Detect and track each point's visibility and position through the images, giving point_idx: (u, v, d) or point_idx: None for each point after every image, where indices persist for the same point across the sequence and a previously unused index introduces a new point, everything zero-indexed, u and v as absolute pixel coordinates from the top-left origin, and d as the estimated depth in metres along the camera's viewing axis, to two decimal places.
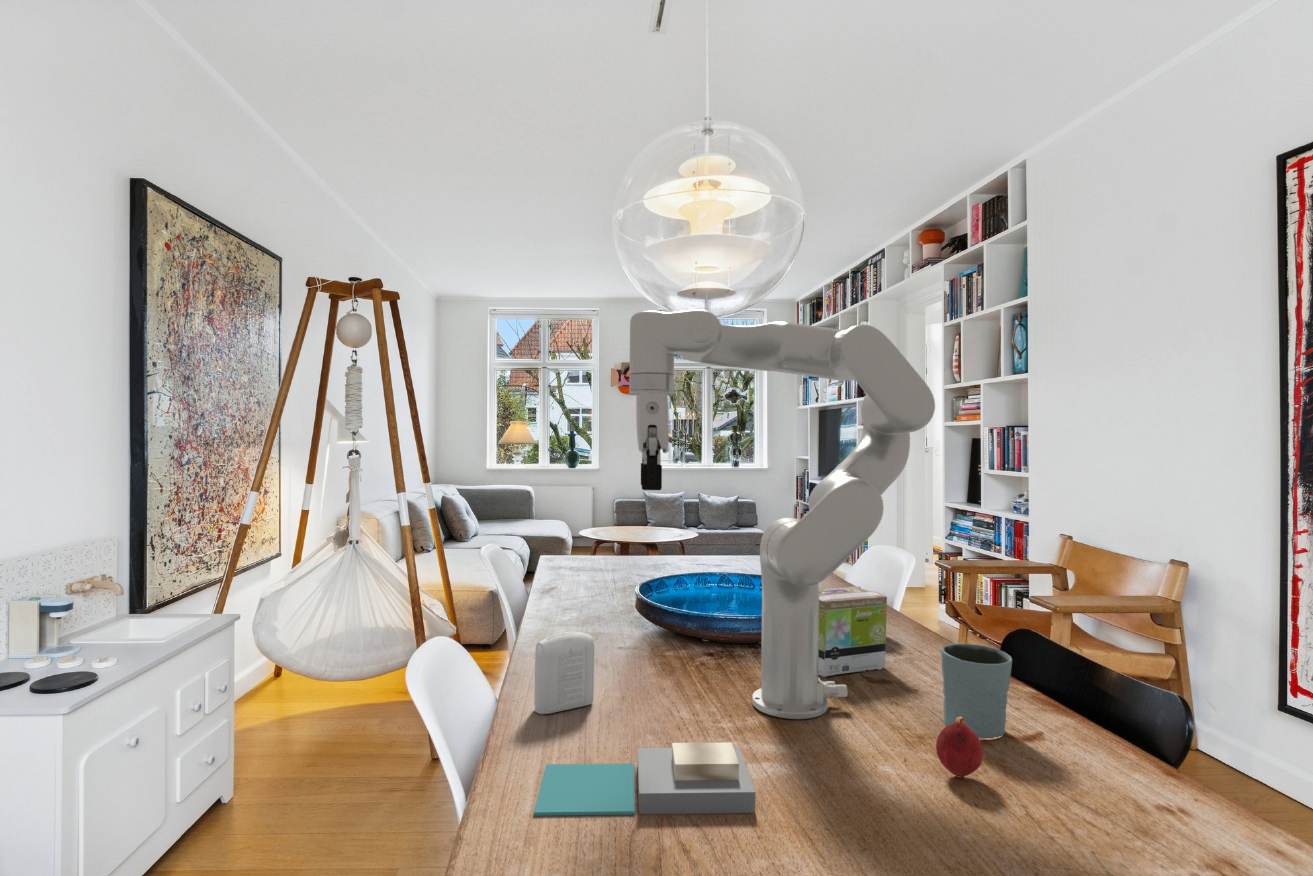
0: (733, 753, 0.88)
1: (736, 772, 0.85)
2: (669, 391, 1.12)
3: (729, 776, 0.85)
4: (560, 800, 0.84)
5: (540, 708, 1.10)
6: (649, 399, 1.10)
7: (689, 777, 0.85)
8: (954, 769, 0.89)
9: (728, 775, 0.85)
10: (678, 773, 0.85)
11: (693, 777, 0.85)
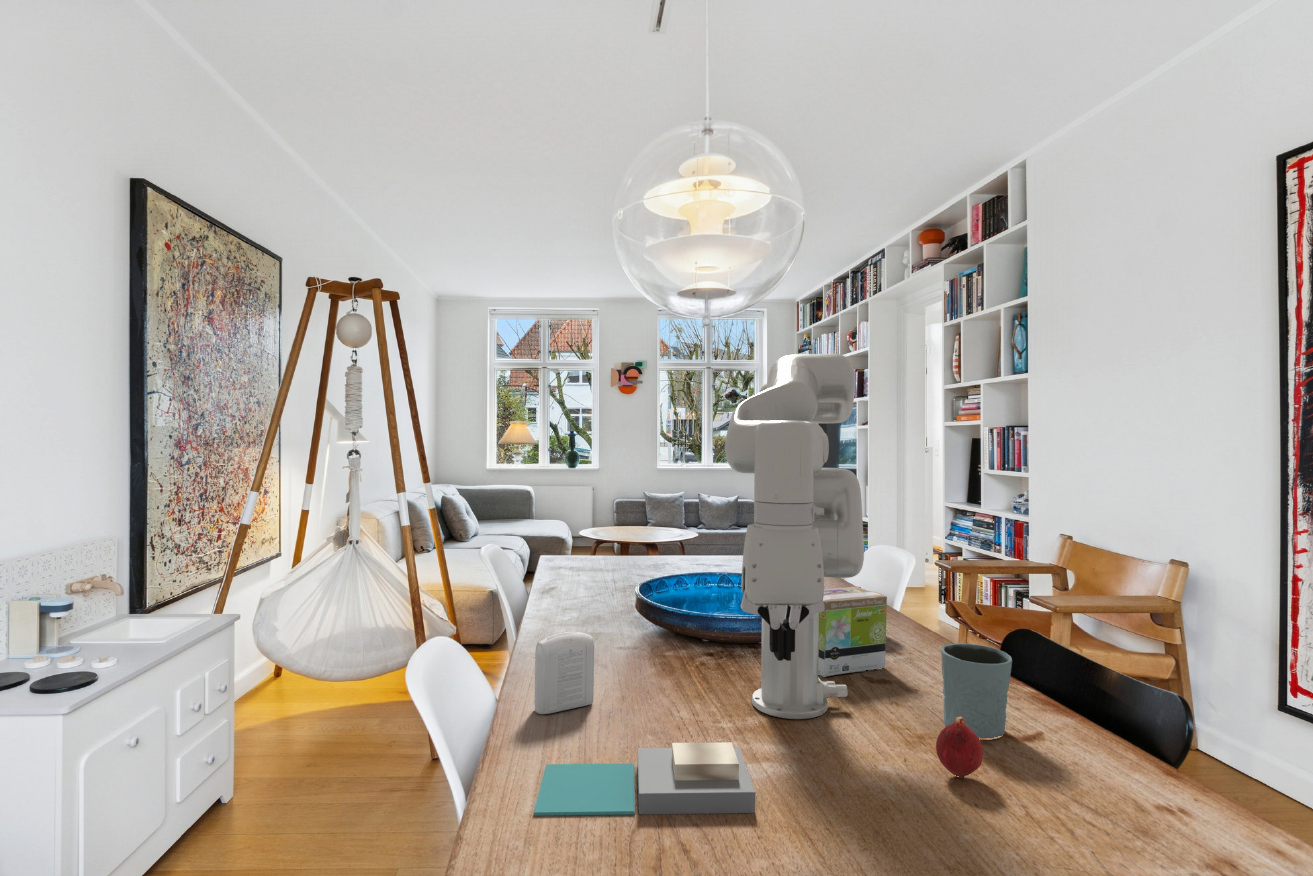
0: (733, 753, 0.88)
1: (736, 772, 0.85)
2: None
3: (729, 776, 0.85)
4: (560, 800, 0.84)
5: (540, 708, 1.10)
6: None
7: (689, 777, 0.85)
8: (954, 769, 0.89)
9: (728, 775, 0.85)
10: (678, 773, 0.85)
11: (693, 777, 0.85)
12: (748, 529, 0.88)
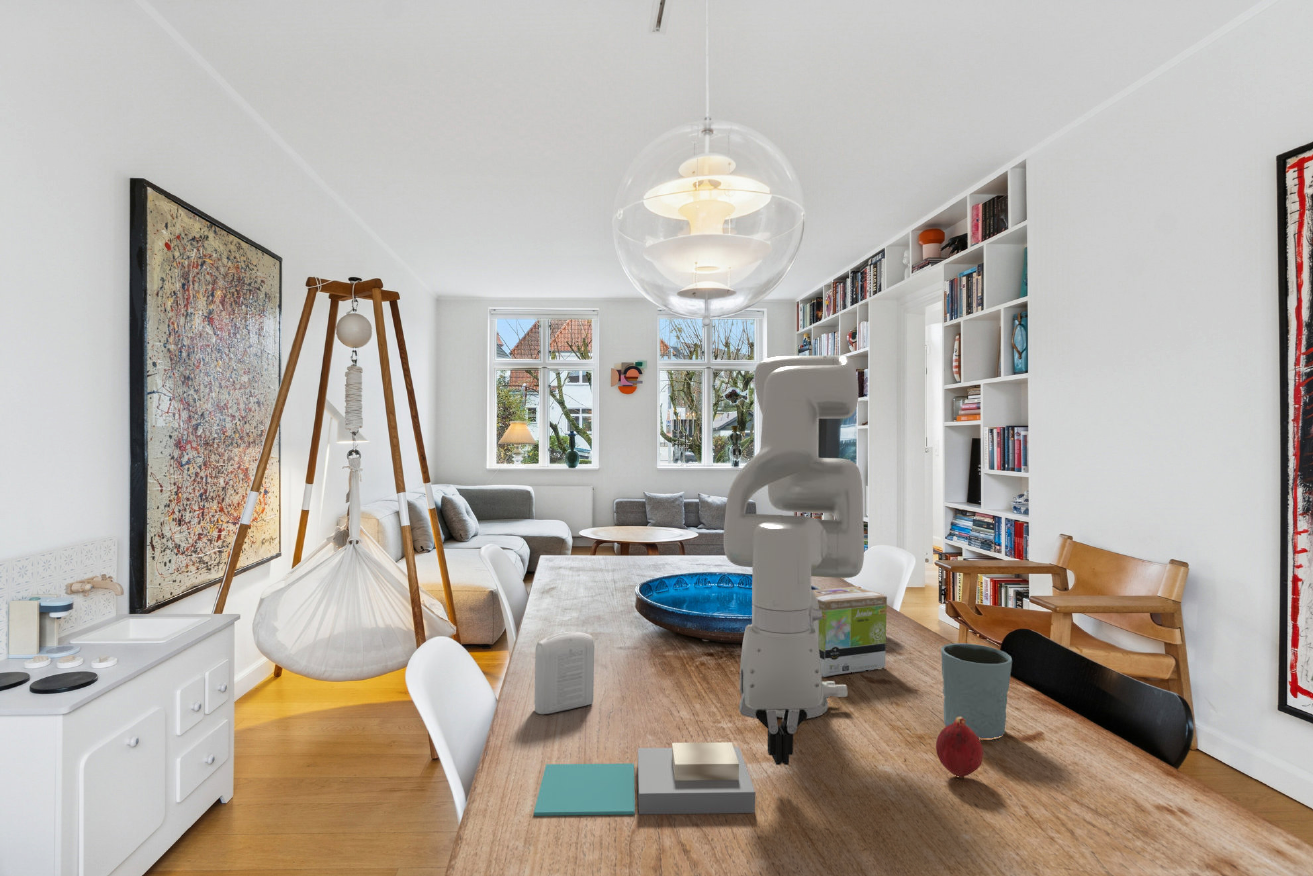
0: (733, 753, 0.88)
1: (736, 772, 0.85)
2: None
3: (729, 776, 0.85)
4: (560, 800, 0.84)
5: (540, 708, 1.10)
6: None
7: (689, 777, 0.85)
8: (954, 769, 0.89)
9: (728, 775, 0.85)
10: (678, 773, 0.85)
11: (693, 777, 0.85)
12: (746, 632, 0.88)
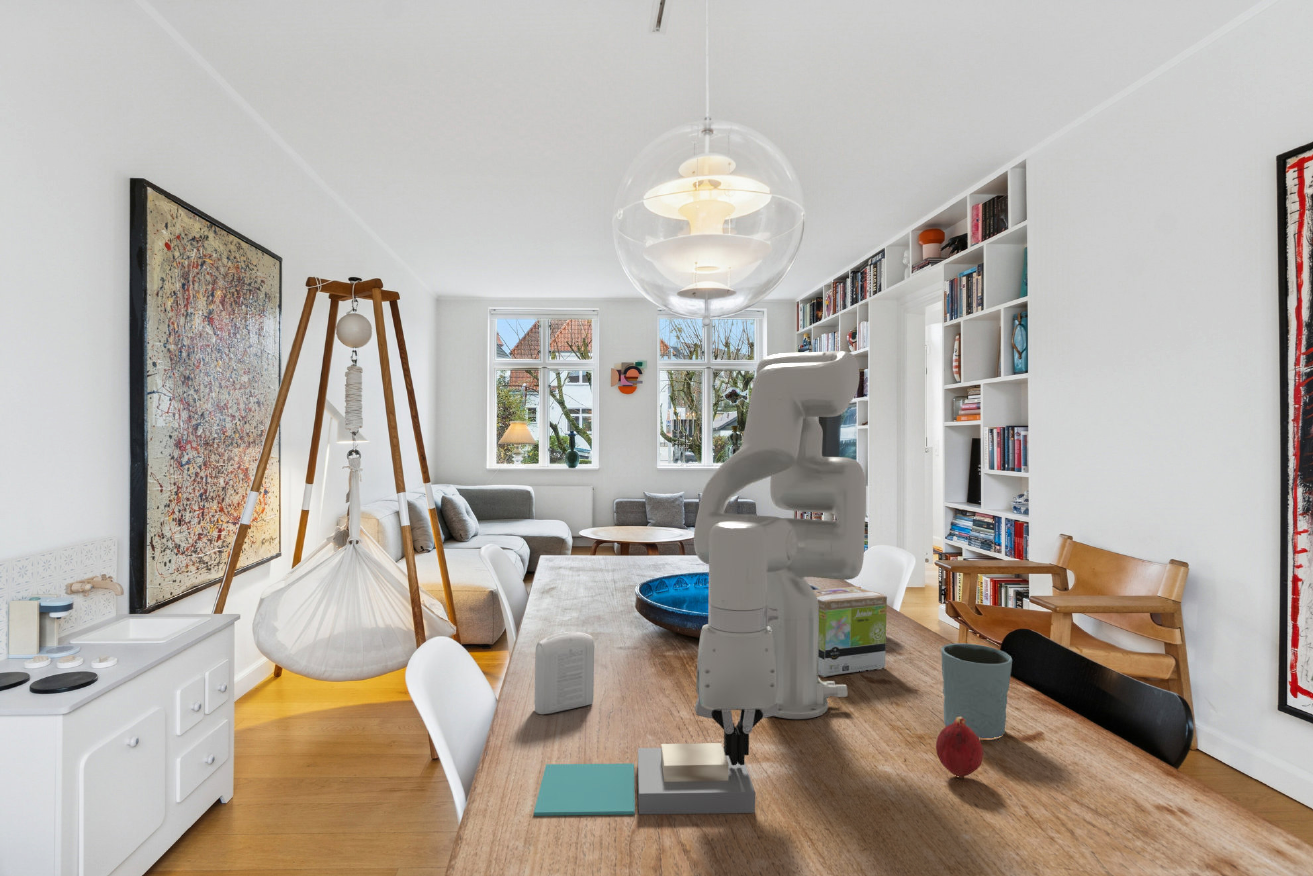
0: (722, 754, 0.88)
1: (726, 773, 0.85)
2: None
3: (719, 777, 0.85)
4: (560, 800, 0.84)
5: (540, 708, 1.10)
6: None
7: (678, 778, 0.84)
8: (954, 769, 0.89)
9: (718, 776, 0.85)
10: (667, 774, 0.84)
11: (682, 778, 0.84)
12: (702, 632, 0.88)
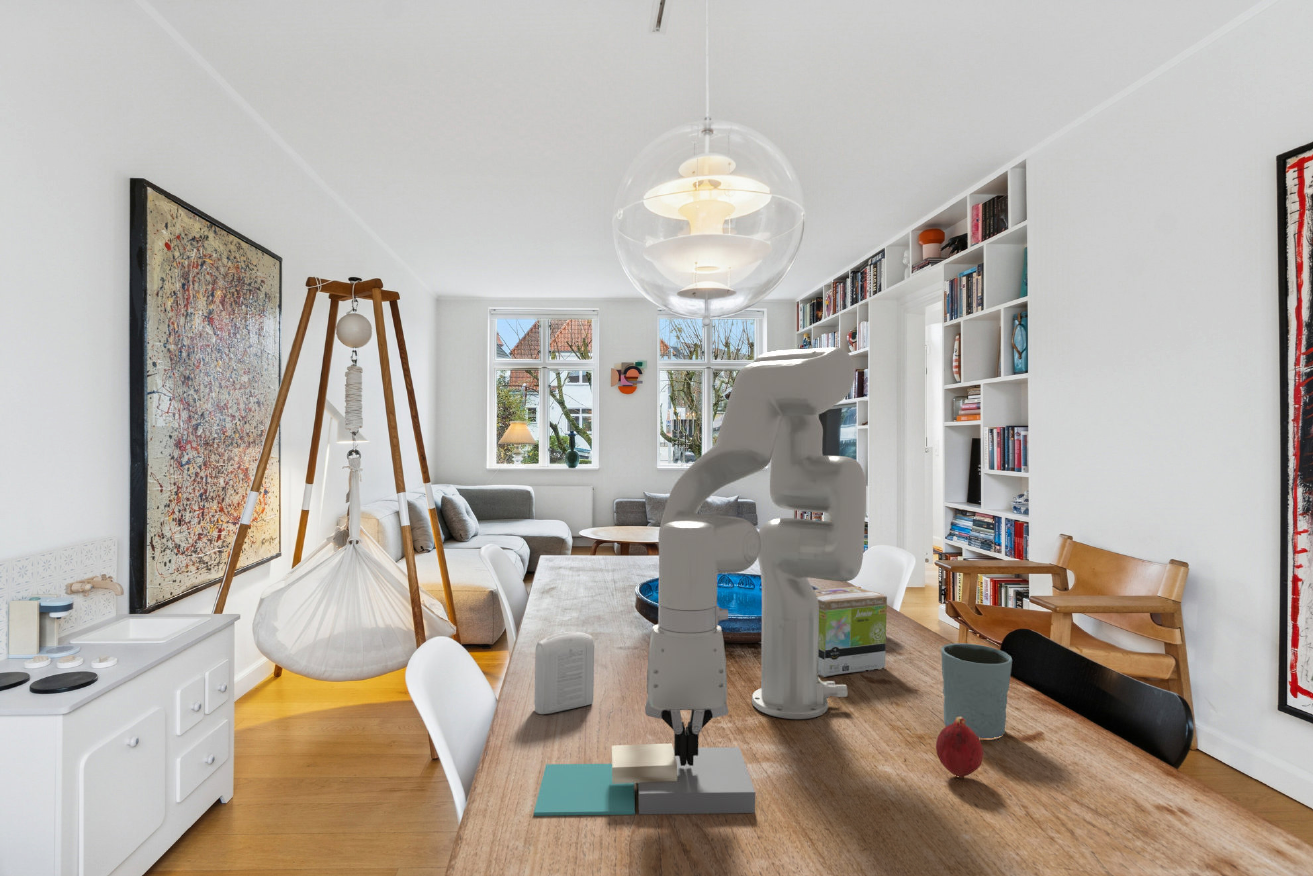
0: (672, 754, 0.87)
1: (674, 773, 0.84)
2: None
3: (667, 778, 0.84)
4: (560, 800, 0.84)
5: (540, 708, 1.10)
6: None
7: (627, 780, 0.84)
8: (954, 769, 0.89)
9: (666, 777, 0.84)
10: (616, 776, 0.84)
11: (631, 780, 0.84)
12: (652, 632, 0.88)
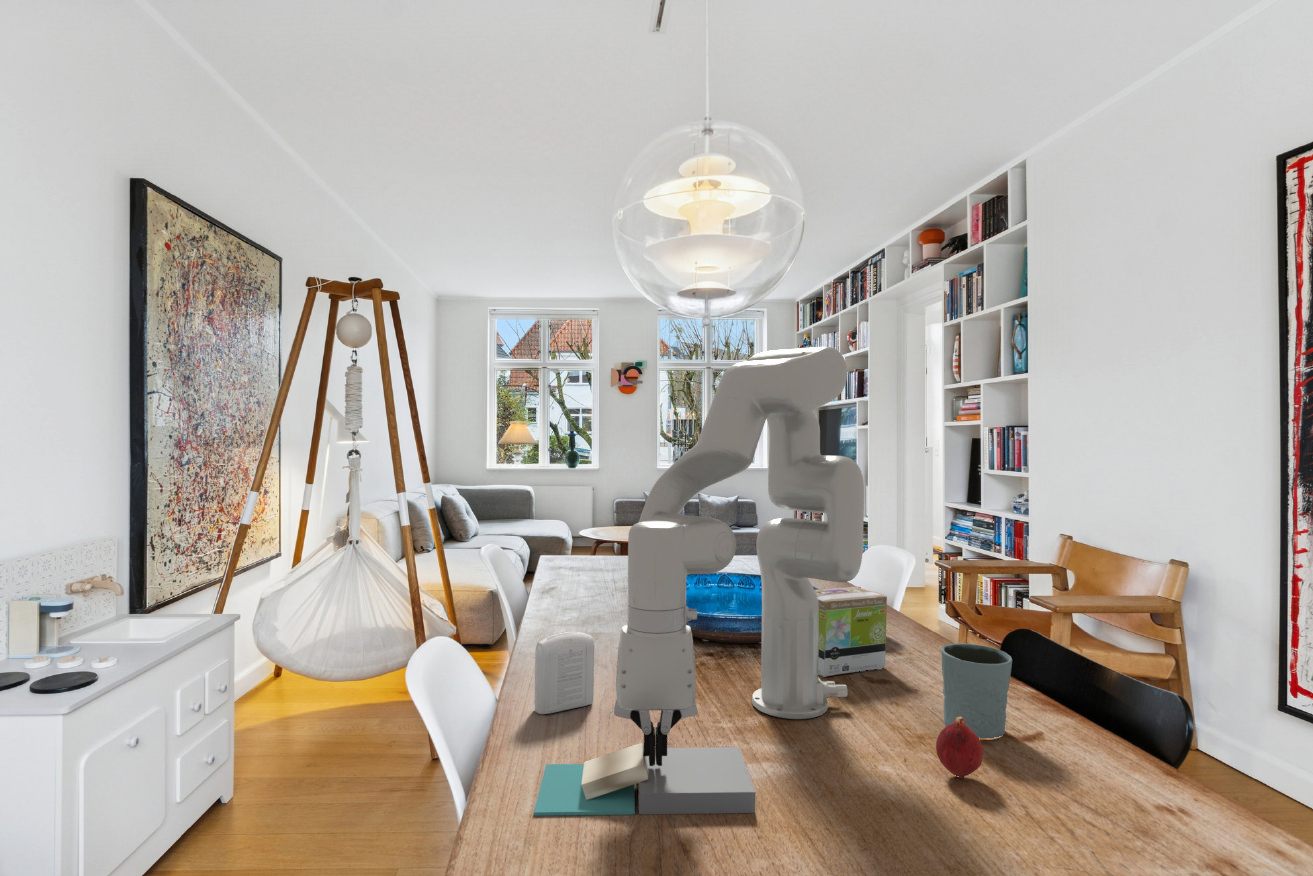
0: (640, 754, 0.87)
1: (643, 773, 0.84)
2: None
3: (638, 779, 0.84)
4: (560, 800, 0.84)
5: (540, 708, 1.10)
6: (692, 638, 0.87)
7: (599, 792, 0.84)
8: (954, 769, 0.89)
9: (636, 778, 0.84)
10: (587, 792, 0.84)
11: (603, 791, 0.84)
12: (621, 632, 0.88)
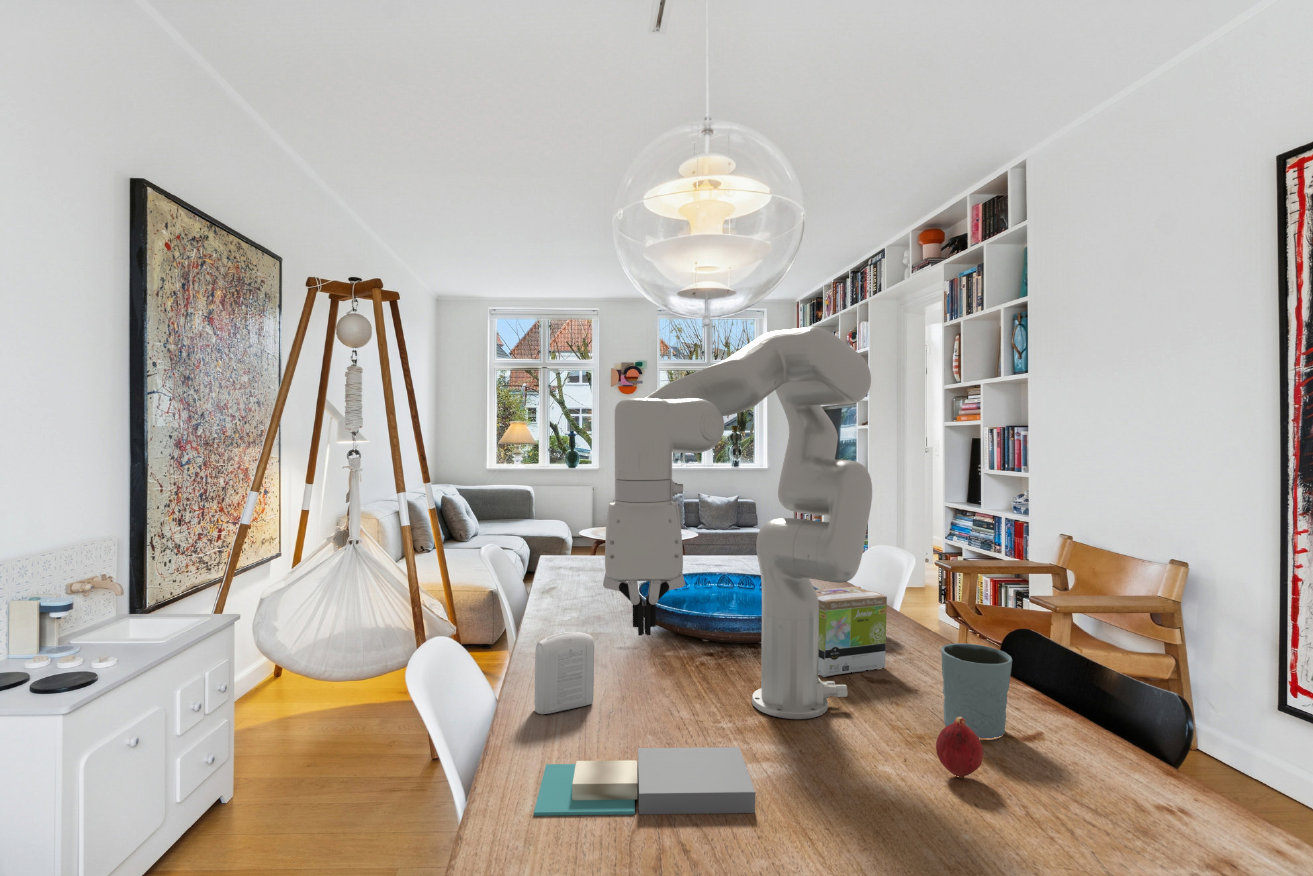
0: (635, 772, 0.87)
1: (634, 792, 0.84)
2: None
3: (627, 796, 0.84)
4: (560, 800, 0.84)
5: (540, 708, 1.10)
6: (678, 512, 0.89)
7: (587, 797, 0.84)
8: (954, 769, 0.89)
9: (626, 795, 0.84)
10: (575, 793, 0.84)
11: (591, 797, 0.84)
12: (609, 507, 0.89)
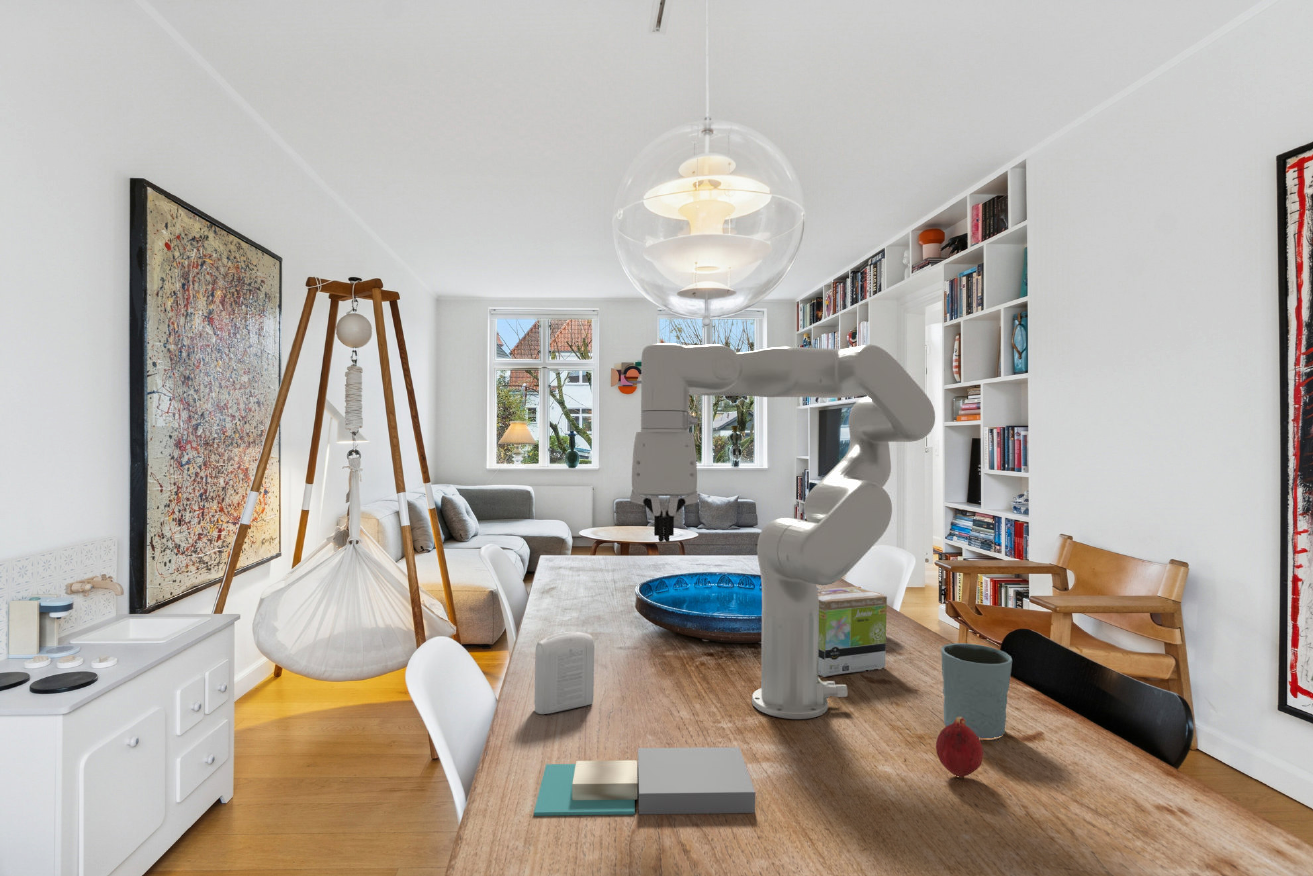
0: (635, 772, 0.87)
1: (634, 792, 0.84)
2: None
3: (627, 796, 0.84)
4: (560, 800, 0.84)
5: (540, 708, 1.10)
6: None
7: (587, 797, 0.84)
8: (954, 769, 0.89)
9: (626, 795, 0.84)
10: (575, 793, 0.84)
11: (591, 797, 0.84)
12: (636, 434, 1.07)
